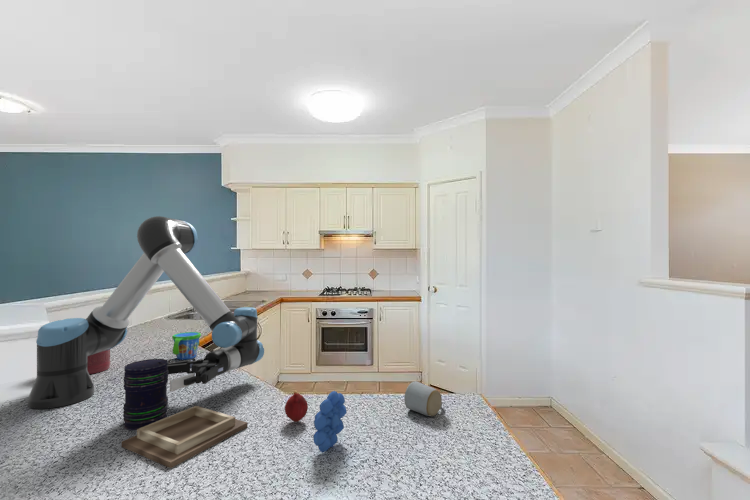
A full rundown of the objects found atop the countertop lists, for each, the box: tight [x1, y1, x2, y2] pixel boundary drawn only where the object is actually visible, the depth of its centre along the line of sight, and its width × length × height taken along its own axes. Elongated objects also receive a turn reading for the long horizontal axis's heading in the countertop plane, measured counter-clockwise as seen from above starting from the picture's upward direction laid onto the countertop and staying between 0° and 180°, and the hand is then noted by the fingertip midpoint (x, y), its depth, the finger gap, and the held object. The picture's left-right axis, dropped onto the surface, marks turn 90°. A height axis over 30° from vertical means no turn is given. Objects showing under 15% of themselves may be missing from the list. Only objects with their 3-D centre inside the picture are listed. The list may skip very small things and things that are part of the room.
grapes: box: [312, 390, 348, 453], centre depth 82 cm, size 12×7×12 cm, turn 154°
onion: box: [284, 390, 309, 423], centre depth 94 cm, size 6×6×8 cm
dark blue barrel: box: [122, 358, 169, 431], centre depth 94 cm, size 10×10×15 cm
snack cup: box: [171, 331, 202, 361], centre depth 154 cm, size 16×10×10 cm
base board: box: [120, 405, 249, 469], centre depth 86 cm, size 18×20×3 cm
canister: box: [87, 349, 112, 375], centre depth 137 cm, size 13×13×18 cm
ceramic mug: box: [404, 380, 444, 417], centre depth 101 cm, size 11×8×8 cm
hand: (154, 381), depth 96 cm, fingers open, 13 cm apart
